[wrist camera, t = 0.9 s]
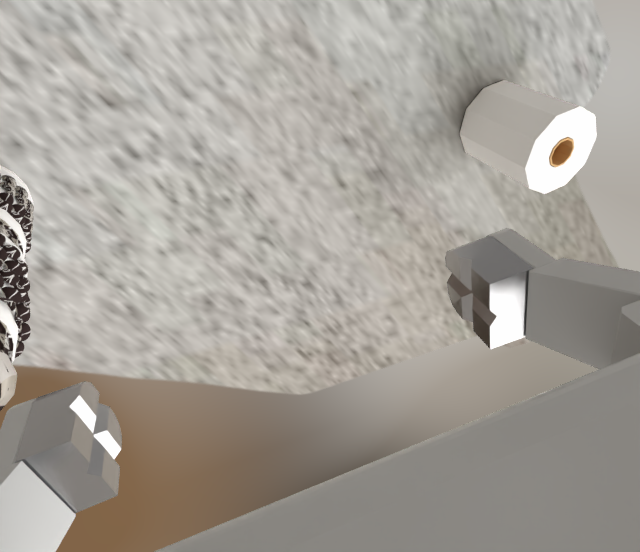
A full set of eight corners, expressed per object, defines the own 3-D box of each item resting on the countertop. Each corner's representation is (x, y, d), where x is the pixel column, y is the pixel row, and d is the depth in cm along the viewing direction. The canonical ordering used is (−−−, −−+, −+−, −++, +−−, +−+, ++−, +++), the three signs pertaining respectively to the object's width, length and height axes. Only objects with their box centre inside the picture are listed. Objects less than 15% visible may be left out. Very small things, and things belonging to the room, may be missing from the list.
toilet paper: (532, 115, 66) (606, 145, 57) (477, 171, 67) (541, 209, 58) (506, 62, 59) (586, 86, 50) (447, 126, 60) (513, 160, 52)
